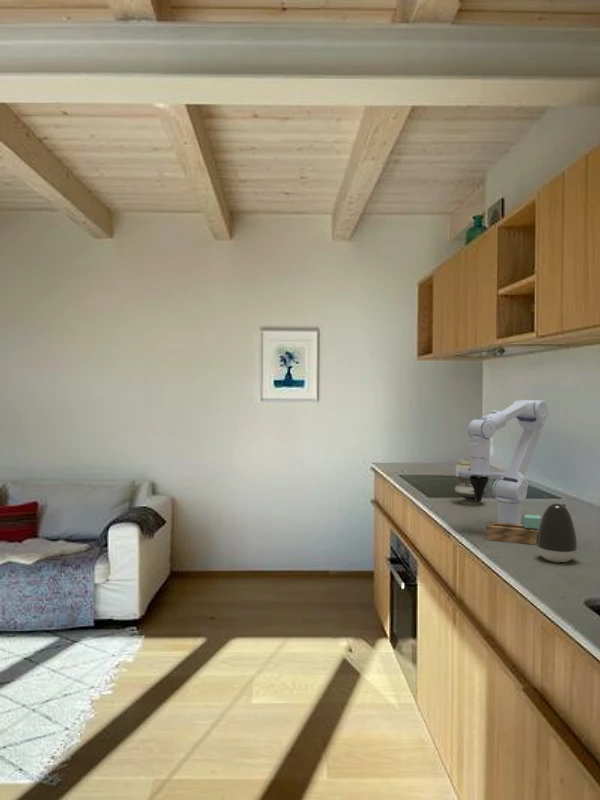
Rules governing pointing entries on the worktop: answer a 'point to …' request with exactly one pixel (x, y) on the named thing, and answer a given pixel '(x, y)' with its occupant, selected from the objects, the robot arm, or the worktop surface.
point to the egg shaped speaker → (557, 534)
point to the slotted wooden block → (510, 533)
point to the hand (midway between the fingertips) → (478, 500)
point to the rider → (532, 521)
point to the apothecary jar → (466, 485)
